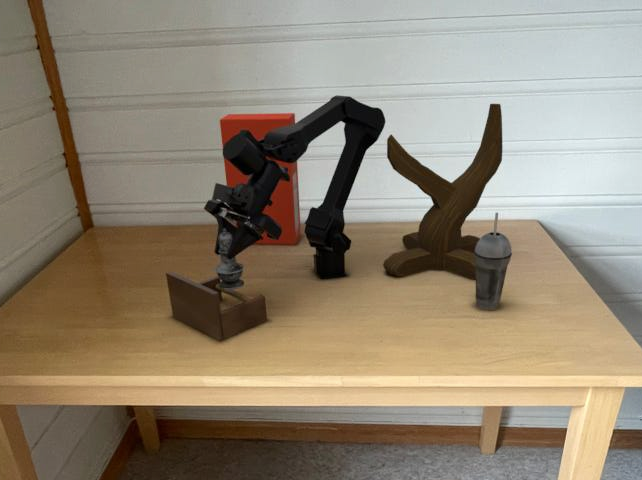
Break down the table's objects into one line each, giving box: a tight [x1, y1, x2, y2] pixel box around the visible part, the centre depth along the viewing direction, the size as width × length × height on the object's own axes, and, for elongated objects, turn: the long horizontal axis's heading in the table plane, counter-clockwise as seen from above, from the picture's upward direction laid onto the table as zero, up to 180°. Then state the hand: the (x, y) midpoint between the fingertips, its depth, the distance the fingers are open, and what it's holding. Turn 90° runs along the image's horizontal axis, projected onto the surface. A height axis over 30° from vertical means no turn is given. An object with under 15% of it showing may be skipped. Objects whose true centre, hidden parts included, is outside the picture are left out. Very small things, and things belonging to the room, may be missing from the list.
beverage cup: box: [474, 211, 513, 311], centre depth 127 cm, size 7×7×20 cm
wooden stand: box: [382, 103, 503, 280], centre depth 145 cm, size 29×29×35 cm
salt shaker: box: [214, 228, 245, 290], centre depth 128 cm, size 6×6×12 cm
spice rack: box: [165, 270, 268, 343], centre depth 130 cm, size 12×16×10 cm
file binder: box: [219, 112, 302, 246], centre depth 166 cm, size 8×17×32 cm, turn 80°
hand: (222, 256), depth 127 cm, fingers closed on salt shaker, 3 cm apart
